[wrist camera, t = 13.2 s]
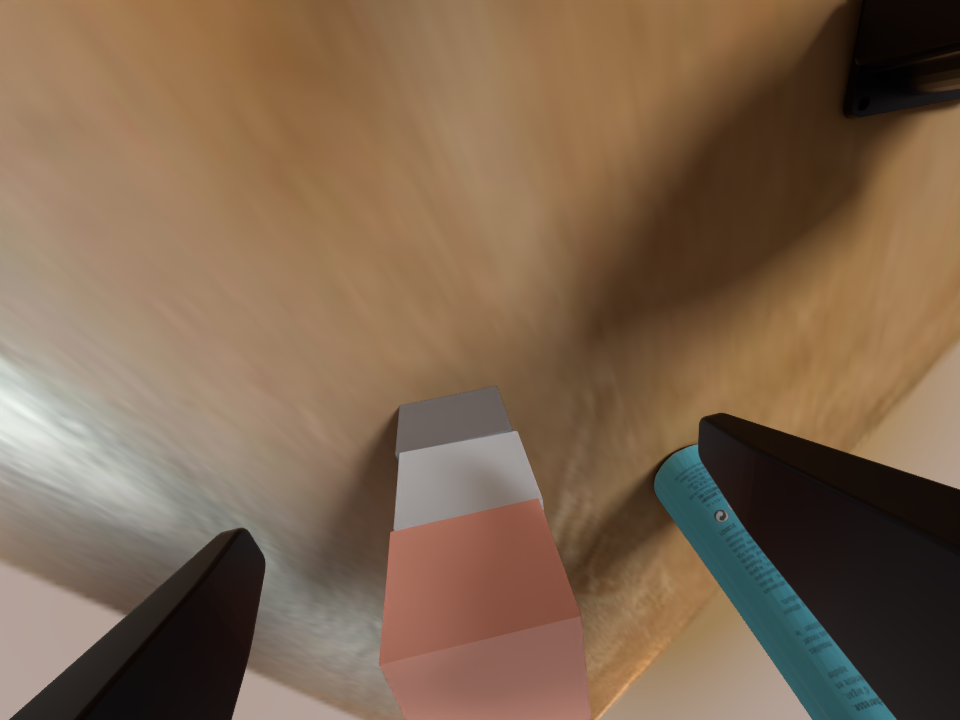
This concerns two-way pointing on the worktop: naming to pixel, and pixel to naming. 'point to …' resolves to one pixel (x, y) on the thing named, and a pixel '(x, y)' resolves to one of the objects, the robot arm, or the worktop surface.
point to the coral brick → (483, 621)
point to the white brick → (462, 479)
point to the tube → (764, 596)
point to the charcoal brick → (451, 420)
